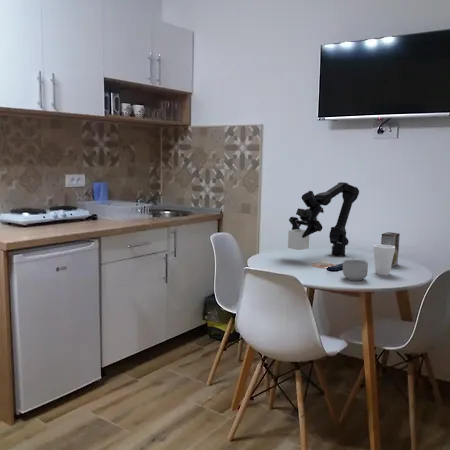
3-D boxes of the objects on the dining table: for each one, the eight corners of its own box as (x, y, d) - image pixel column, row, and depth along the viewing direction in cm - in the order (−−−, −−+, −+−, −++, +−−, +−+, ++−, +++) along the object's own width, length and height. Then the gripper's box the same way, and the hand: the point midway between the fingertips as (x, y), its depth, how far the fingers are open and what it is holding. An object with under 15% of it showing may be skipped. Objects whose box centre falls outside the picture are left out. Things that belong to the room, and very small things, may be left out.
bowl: (327, 264, 227) (328, 260, 227) (329, 266, 223) (330, 261, 223) (319, 264, 227) (320, 259, 227) (321, 266, 223) (321, 261, 223)
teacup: (366, 283, 196) (367, 265, 195) (340, 280, 199) (341, 262, 198) (367, 276, 209) (368, 258, 208) (343, 273, 212) (344, 256, 211)
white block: (297, 246, 239) (298, 229, 238) (308, 248, 233) (309, 231, 232) (287, 247, 234) (288, 230, 233) (298, 250, 229) (299, 232, 227)
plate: (334, 264, 232) (334, 263, 232) (341, 270, 219) (341, 269, 219) (308, 263, 232) (308, 262, 232) (314, 269, 219) (314, 268, 219)
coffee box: (385, 262, 240) (387, 231, 237) (397, 264, 236) (400, 233, 233) (378, 265, 233) (381, 233, 230) (391, 267, 228) (394, 235, 226)
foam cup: (379, 276, 208) (381, 248, 207) (367, 271, 217) (369, 244, 215) (397, 275, 211) (399, 247, 209) (385, 270, 220) (387, 244, 218)
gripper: (291, 201, 240) (276, 223, 235) (319, 204, 226) (303, 228, 221) (301, 215, 246) (286, 237, 241) (329, 219, 232) (313, 242, 227)
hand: (296, 236), depth 232 cm, fingers closed on white block, 7 cm apart
